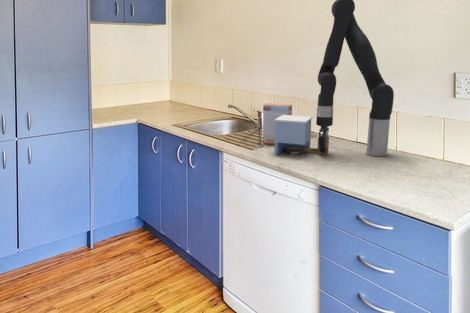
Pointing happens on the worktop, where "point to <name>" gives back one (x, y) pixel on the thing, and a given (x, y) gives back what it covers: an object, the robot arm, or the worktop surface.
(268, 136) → the cracker box
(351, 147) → the worktop surface
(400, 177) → the worktop surface
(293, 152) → the grey metal dome
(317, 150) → the wooden mallet
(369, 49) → the robot arm
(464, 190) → the worktop surface
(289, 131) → the cabinet
